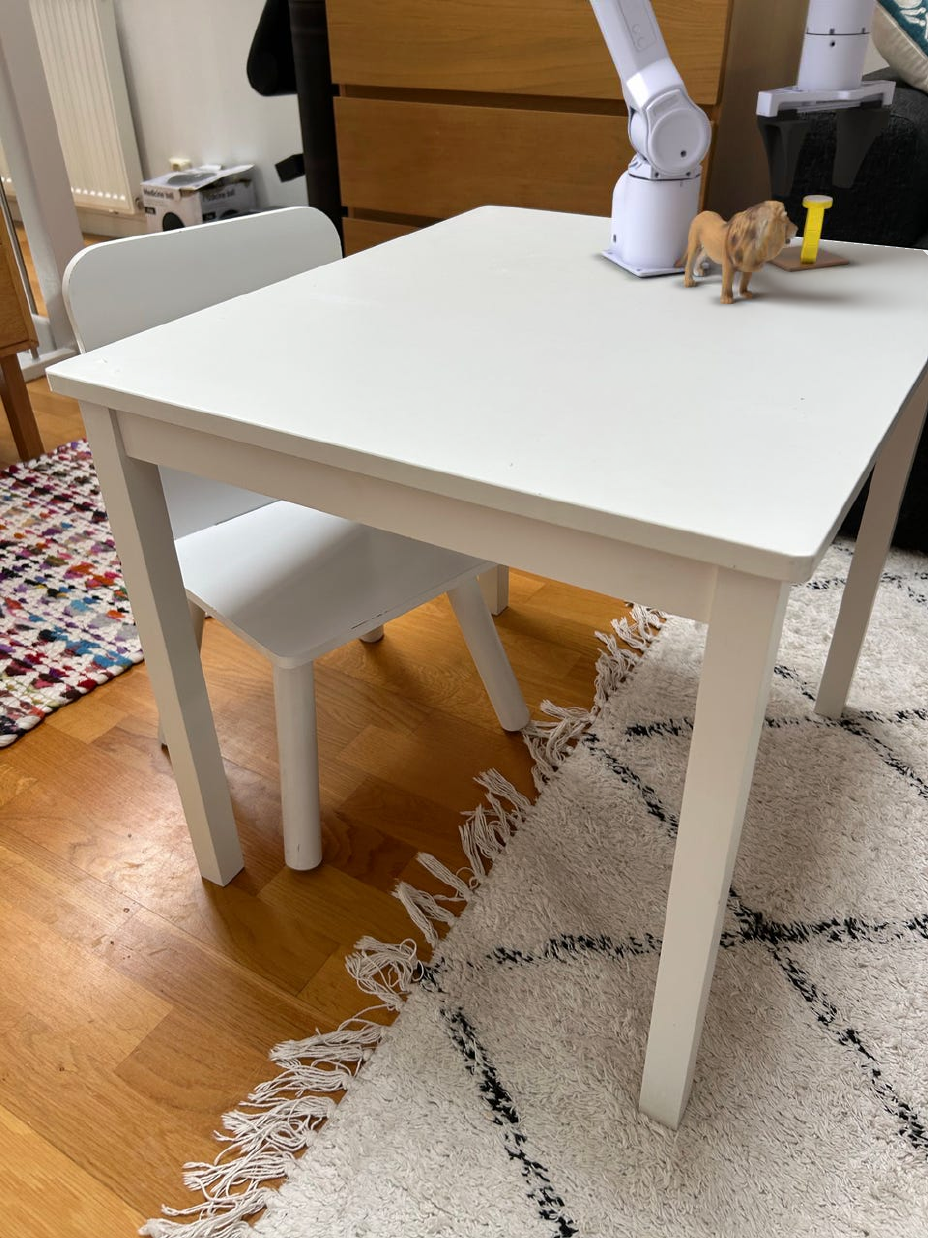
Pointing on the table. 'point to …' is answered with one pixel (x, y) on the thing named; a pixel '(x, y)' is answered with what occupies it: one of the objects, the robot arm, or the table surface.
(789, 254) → the coaster
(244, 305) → the table surface
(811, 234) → the yellow signet ring
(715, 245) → the lion figurine
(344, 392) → the table surface
